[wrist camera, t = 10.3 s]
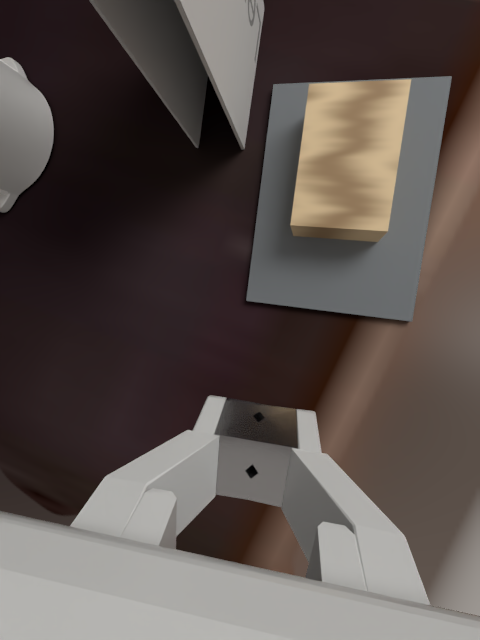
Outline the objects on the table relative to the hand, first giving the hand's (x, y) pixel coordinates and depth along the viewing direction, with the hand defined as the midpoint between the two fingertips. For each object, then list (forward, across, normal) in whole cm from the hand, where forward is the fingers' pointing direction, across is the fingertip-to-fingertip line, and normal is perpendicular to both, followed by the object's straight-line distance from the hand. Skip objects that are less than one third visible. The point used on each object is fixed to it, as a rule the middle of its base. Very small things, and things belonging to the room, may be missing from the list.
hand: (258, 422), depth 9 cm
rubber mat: (+26, -5, -8) cm, 28 cm away
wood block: (+22, -5, -4) cm, 23 cm away
